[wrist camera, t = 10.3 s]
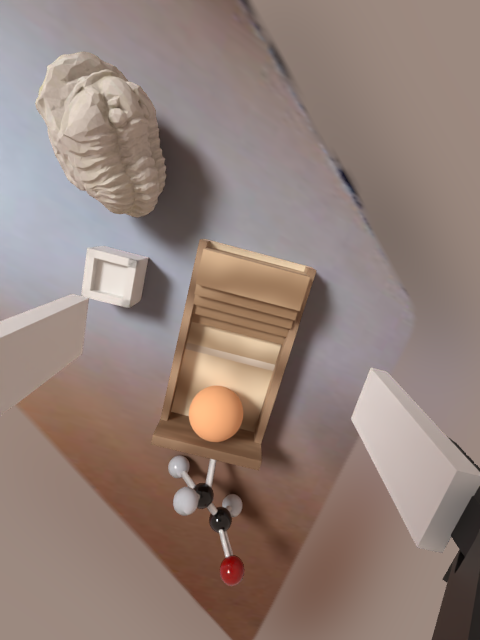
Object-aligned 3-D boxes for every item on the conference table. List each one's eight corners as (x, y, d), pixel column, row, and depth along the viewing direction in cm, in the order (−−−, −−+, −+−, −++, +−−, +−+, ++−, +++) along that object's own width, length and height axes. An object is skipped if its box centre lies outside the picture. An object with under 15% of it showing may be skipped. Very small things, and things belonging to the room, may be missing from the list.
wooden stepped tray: (204, 238, 36) (194, 240, 30) (311, 267, 36) (322, 274, 30) (165, 413, 42) (150, 444, 36) (257, 436, 42) (258, 470, 36)
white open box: (103, 245, 36) (87, 247, 33) (148, 257, 36) (137, 260, 33) (97, 289, 38) (81, 296, 34) (140, 300, 38) (128, 308, 34)
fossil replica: (178, 216, 35) (151, 211, 26) (102, 221, 36) (46, 219, 26) (164, 85, 32) (126, 24, 22) (80, 93, 32) (8, 36, 23)
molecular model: (219, 428, 42) (209, 493, 32) (267, 495, 44) (272, 576, 34) (167, 456, 43) (140, 527, 33) (216, 520, 46) (206, 604, 36)
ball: (191, 406, 41) (199, 369, 38) (238, 418, 41) (250, 381, 38) (179, 446, 35) (187, 406, 32) (233, 459, 36) (247, 420, 33)
